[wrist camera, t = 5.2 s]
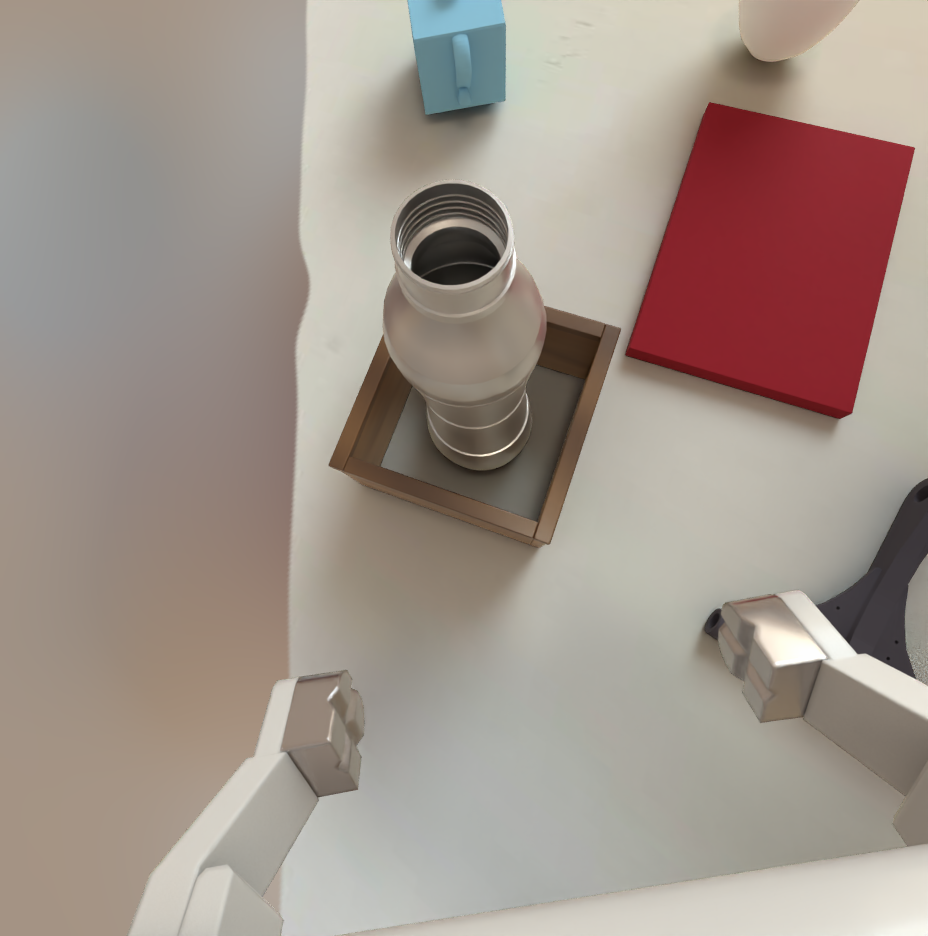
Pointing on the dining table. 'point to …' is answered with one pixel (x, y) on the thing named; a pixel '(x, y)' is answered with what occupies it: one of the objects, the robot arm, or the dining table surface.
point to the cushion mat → (774, 258)
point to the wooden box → (360, 455)
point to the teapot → (459, 52)
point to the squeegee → (879, 590)
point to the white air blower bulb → (788, 25)
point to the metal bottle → (464, 321)
